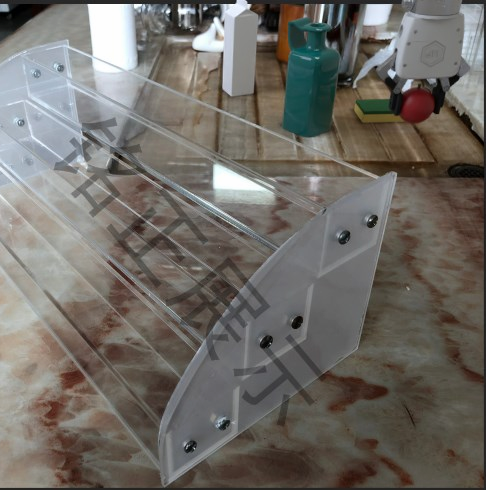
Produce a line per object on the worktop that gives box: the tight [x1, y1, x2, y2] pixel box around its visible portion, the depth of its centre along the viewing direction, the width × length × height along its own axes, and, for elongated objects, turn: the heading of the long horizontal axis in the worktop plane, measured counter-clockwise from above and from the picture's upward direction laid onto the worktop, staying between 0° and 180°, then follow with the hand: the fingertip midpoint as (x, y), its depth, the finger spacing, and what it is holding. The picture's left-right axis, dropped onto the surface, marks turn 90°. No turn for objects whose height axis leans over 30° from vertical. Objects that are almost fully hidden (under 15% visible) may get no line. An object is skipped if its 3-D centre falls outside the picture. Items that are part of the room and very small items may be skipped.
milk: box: [221, 0, 259, 97], centre depth 142 cm, size 6×6×22 cm
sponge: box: [354, 98, 407, 124], centre depth 131 cm, size 10×7×3 cm
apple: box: [399, 83, 435, 124], centre depth 104 cm, size 6×6×7 cm
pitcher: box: [281, 16, 341, 138], centre depth 122 cm, size 10×8×22 cm
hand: (414, 111), depth 105 cm, fingers closed on apple, 6 cm apart
